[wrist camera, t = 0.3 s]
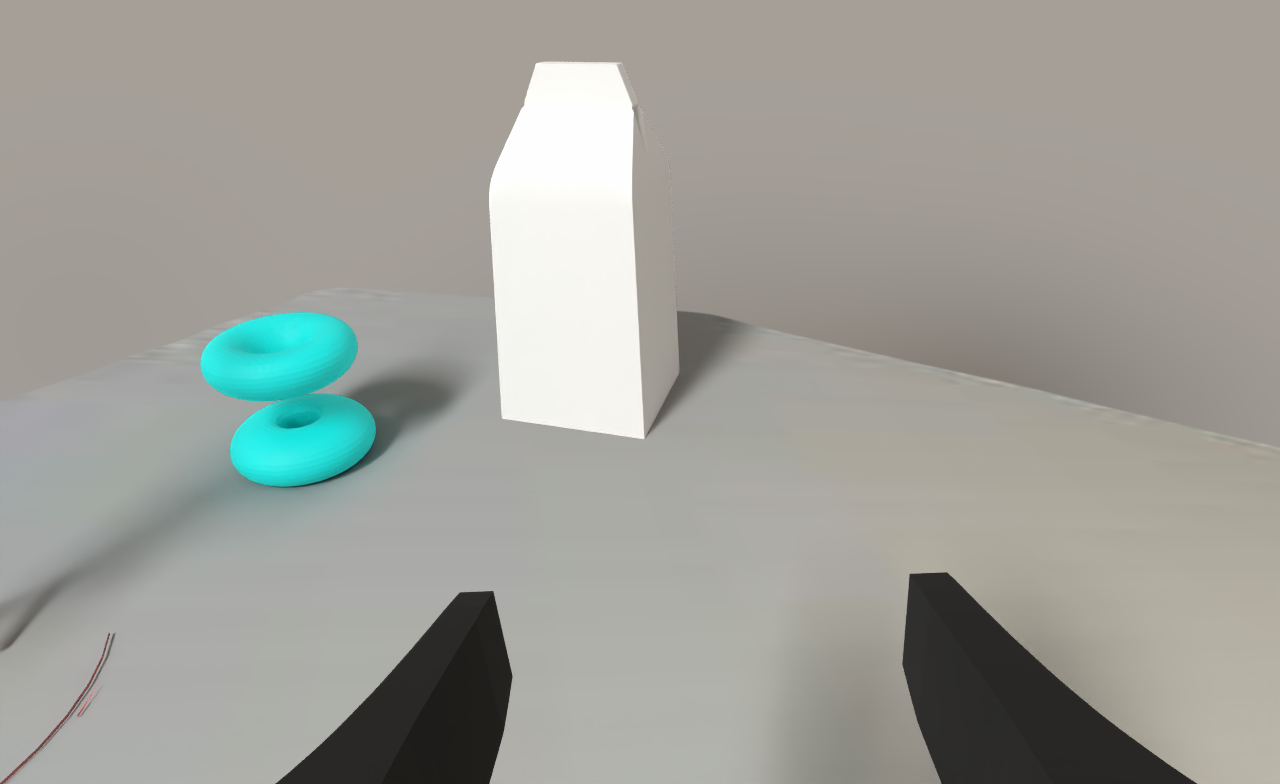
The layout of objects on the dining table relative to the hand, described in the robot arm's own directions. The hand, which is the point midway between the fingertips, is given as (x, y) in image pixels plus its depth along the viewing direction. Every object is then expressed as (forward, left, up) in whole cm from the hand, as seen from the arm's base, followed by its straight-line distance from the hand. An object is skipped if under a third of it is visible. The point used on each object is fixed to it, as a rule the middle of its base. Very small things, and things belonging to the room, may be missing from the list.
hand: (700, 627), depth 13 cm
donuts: (+34, +30, -21) cm, 50 cm away
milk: (+45, +10, -21) cm, 51 cm away
